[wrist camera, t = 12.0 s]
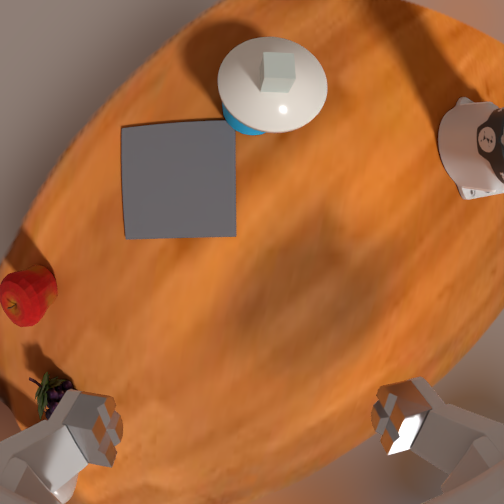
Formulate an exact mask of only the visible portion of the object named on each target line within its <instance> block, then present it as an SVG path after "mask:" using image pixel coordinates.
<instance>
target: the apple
mask: <svg viewBox="0 0 504 504" xmlns="http://www.w3.org/2000/svg"><path fill="white" fill-rule="evenodd" d="M56 297H57V284H56V280H55V278H54V276H53V274H52V273H51V272H50V271H49V270H48V269H47V268H46V267H44V266H41V265H33V266H31V267H29V268H28V269H26V270H23V271H17V272H13V273H10V274H8V275H7V276H6V277H5V278H4V279H3V281H2V283H1V285H0V303H1V305H2V308H3V310H4V312H5V313H6V314H7V316H8V317H9V318H10V320H11V321H12V322H13V323H14V324H16V325H18V326H20V327H26V326H33V325H35V324H36V323H38V322H39V321H40V319H41V318H42V317H43V316H44V314H45V312H46V310H47V309H48V307H49V306H50V305H51V304H52V303H53V302H54V301H55V299H56Z"/></svg>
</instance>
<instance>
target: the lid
mask: <svg viewBox="0 0 504 504" xmlns="http://www.w3.org/2000/svg"><path fill="white" fill-rule="evenodd" d="M218 90H219V95H220V98H221V100H222V102H223V104H224V106H225V108H226V109H227V110H228V112H229V113H230V114H231V115H232V116H233V117H234V118H235V119H236V120H238V121H239V122H240V123H242V124H244V125H245V126H247V127H250V128H252V129H254V130H258V131H261V132H266V133H284V132H290V131H293V130H296V129H298V128H301V127H303V126H304V125H306V124H307V123H309V122H310V121H311V120H312V119H313V118H314V117H315V116H316V115H317V114H318V113H319V112H320V110H321V109H322V107H323V105H324V103H325V100H326V96H327V80H326V76H325V73H324V70H323V68H322V66H321V65H320V63H319V62H318V60H317V59H316V58H315V57H314V56H313V55H312V54H311V53H310V52H309V51H308V50H307V49H305V48H304V47H302V46H301V45H299V44H297V43H295V42H292V41H290V40H287V39H283V38H278V37H260V38H255V39H251V40H248V41H245V42H243V43H241V44H239V45H238V46H236V47H235V48H234V49H232V50H231V51H230V52H229V53H228V55H227V56H226V57H225V58H224V60H223V62H222V64H221V66H220V69H219V73H218Z"/></svg>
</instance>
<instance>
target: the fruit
mask: <svg viewBox="0 0 504 504" xmlns="http://www.w3.org/2000/svg"><path fill="white" fill-rule="evenodd" d="M47 374H48V372H46V374H44V377H43V380H42V383H41V384H40V383H38V382H37V381H36V380H34V379H32V378H30V377H29V380H30V381H32V382H34V383H36V384H37V385H38V386H39V388H38V390H37V392H36V395H35V399H36V397H37V405H38V412H39V416H40V420H41V416H42V414H43V411H44V409H46V405H47V407H48V408H49V409H48V410H47V409H46V410H47V411H46V412H45V411H44V412H45V413H46V414H45V415H46V418H47V419H48V420H49V418H50V417H51V415H52V413H53V412H54V410H55V409H56V407H57V405H58V404H59V402H60V401H61V399H62V397H63V396H64V394H65V391H67V390H70V389H73V385H72V383H71V382H70V381H68V380H66V381H65V380H63V379H62V380H61V379H60V380H59V379H57V380H55V379H56V378H58V377H56V378H54V379H52V378H51V379H50V381H49V376H50V374H49V375H48V376H47ZM63 381H64V382H63ZM60 383H62V384H60ZM73 390H74V389H73Z"/></svg>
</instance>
